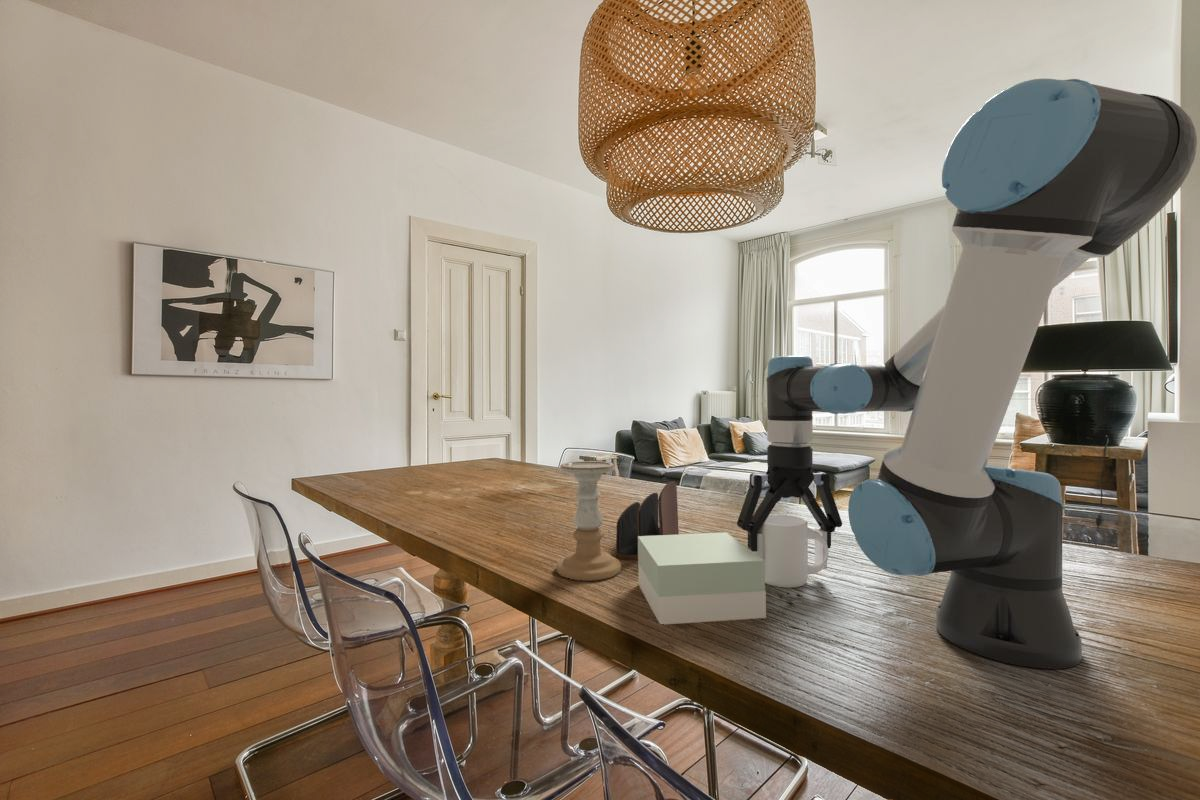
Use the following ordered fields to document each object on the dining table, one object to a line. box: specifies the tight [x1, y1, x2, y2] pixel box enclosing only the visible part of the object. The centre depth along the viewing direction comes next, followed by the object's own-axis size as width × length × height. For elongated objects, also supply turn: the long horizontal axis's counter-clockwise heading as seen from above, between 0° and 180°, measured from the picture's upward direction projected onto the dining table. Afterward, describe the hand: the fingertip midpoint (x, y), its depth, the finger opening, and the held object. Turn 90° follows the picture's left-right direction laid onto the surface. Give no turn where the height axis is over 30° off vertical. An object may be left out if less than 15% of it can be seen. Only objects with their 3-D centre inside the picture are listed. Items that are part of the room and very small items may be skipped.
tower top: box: [637, 532, 766, 597], centre depth 84 cm, size 16×16×4 cm
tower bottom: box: [637, 562, 767, 625], centre depth 84 cm, size 16×16×4 cm
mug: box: [759, 513, 829, 589], centre depth 92 cm, size 9×12×11 cm
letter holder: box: [615, 480, 679, 561], centre depth 114 cm, size 10×20×14 cm, turn 163°
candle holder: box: [555, 460, 622, 582], centre depth 99 cm, size 12×12×20 cm
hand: (789, 567), depth 92 cm, fingers closed on mug, 11 cm apart
